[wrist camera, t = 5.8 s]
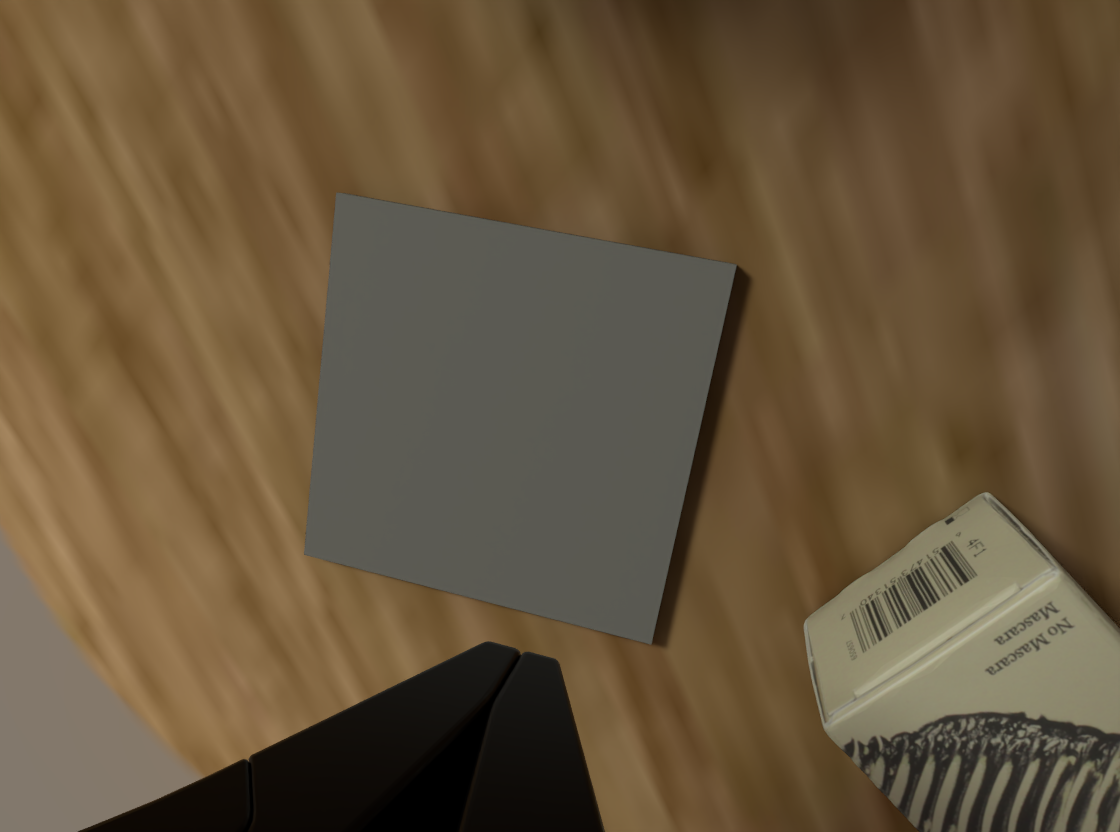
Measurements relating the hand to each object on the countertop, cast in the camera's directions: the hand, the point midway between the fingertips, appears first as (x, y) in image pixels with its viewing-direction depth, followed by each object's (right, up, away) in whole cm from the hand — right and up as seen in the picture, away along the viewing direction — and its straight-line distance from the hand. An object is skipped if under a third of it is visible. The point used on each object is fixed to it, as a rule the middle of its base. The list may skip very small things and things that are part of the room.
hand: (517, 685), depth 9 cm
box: (+7, 0, +7) cm, 10 cm away
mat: (-1, +3, +10) cm, 10 cm away
